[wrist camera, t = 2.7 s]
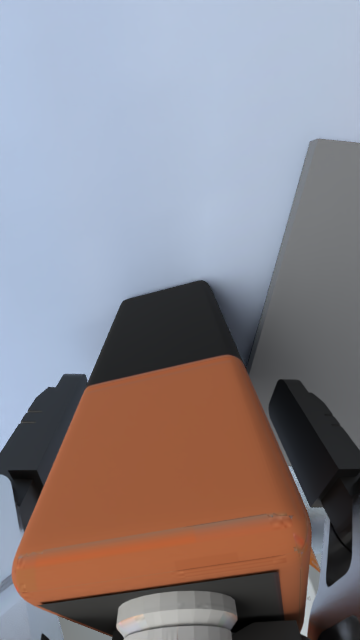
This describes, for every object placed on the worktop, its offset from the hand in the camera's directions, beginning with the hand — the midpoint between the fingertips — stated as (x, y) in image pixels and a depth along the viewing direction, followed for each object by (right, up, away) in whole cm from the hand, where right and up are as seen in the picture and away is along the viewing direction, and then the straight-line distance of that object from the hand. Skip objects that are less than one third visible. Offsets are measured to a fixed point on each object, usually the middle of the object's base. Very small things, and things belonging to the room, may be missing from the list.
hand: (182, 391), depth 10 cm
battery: (0, +2, +3) cm, 3 cm away
